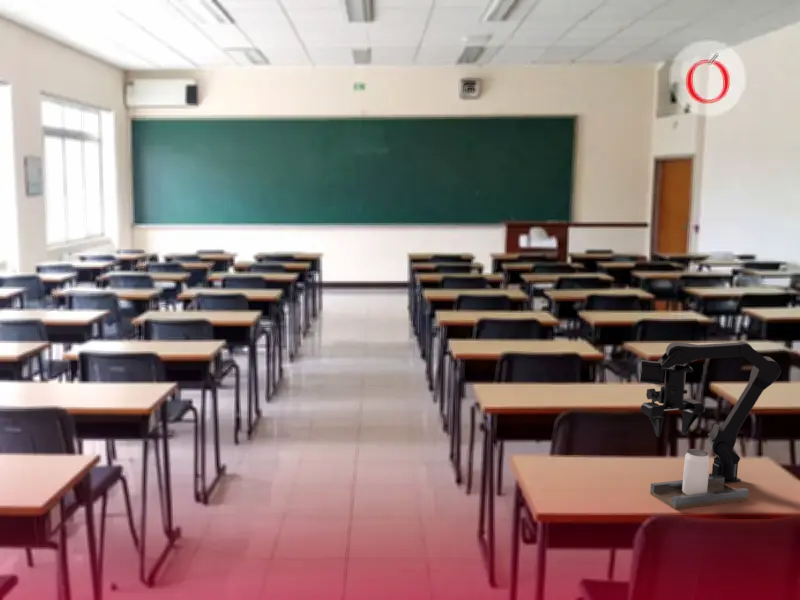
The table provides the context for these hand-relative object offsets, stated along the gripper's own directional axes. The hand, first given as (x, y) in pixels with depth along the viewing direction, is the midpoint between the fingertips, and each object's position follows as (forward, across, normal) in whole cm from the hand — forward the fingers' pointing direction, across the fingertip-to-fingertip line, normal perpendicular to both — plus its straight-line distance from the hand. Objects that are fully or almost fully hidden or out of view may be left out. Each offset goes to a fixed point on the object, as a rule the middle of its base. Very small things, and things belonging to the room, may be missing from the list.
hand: (670, 435), depth 226 cm
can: (+11, +4, +17) cm, 21 cm away
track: (+12, +3, +18) cm, 21 cm away
